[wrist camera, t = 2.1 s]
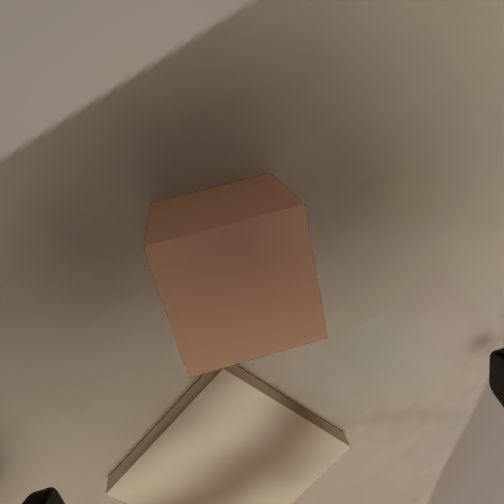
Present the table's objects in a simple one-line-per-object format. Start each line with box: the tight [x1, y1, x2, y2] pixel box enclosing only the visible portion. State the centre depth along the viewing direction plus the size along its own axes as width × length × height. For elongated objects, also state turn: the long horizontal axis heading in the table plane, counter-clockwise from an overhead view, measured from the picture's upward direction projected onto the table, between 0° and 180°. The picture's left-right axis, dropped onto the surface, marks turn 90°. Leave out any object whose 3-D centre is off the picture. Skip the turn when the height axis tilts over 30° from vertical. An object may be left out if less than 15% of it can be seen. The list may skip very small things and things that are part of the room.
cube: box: [144, 173, 327, 378], centre depth 16 cm, size 5×5×5 cm
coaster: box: [106, 365, 351, 504], centre depth 22 cm, size 9×9×1 cm
